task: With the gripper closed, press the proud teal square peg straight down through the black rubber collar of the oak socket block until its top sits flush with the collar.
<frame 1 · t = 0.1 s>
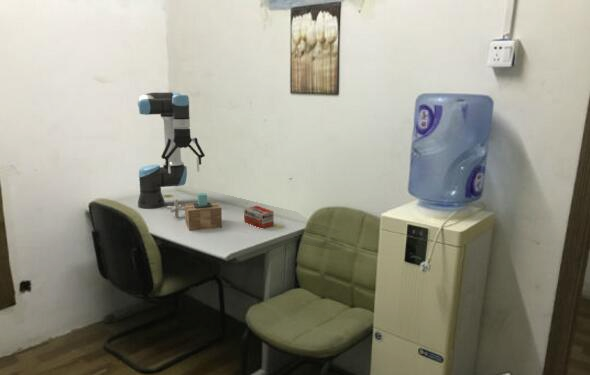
hand: (184, 172, 220), 28 cm above the table, fingers open, 13 cm apart
collar: (202, 205, 228), on the socket block, point 10 cm above the table
medicine box: (259, 224, 232), on the table
pipe connector: (176, 217, 243), on the table
peg: (202, 202, 227), point 12 cm above the table, slide at 0.0 cm
socket block: (203, 224, 230), on the table
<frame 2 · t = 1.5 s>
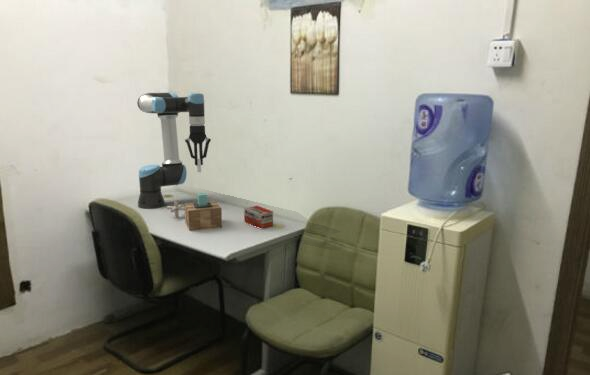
hand: (199, 171, 231), 26 cm above the table, fingers closed
nothing on the table moved.
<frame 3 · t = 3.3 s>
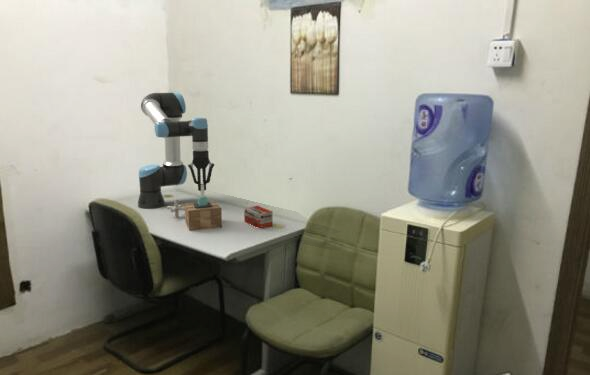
hand: (202, 196, 227), 15 cm above the table, fingers closed
peg: (202, 205, 228), point 10 cm above the table, slide at 1.6 cm, touching gripper
everything else where it was.
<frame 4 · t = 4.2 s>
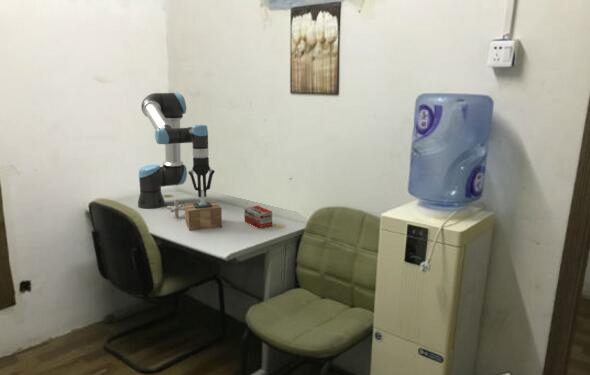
hand: (202, 203, 227), 11 cm above the table, fingers closed
peg: (202, 211, 228), point 7 cm above the table, slide at 4.9 cm, touching gripper
everything else where it was.
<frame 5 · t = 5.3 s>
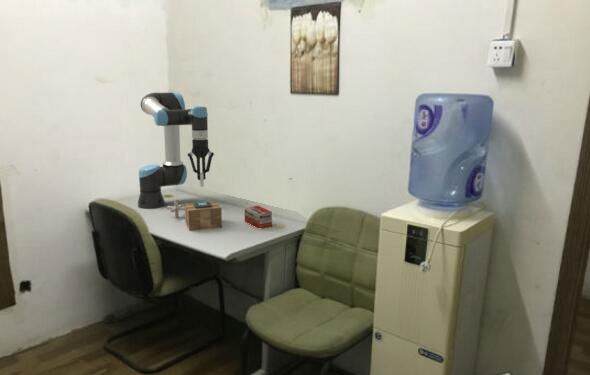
hand: (201, 186, 226), 20 cm above the table, fingers closed
peg: (202, 211, 228), point 7 cm above the table, slide at 4.9 cm
everything else where it was.
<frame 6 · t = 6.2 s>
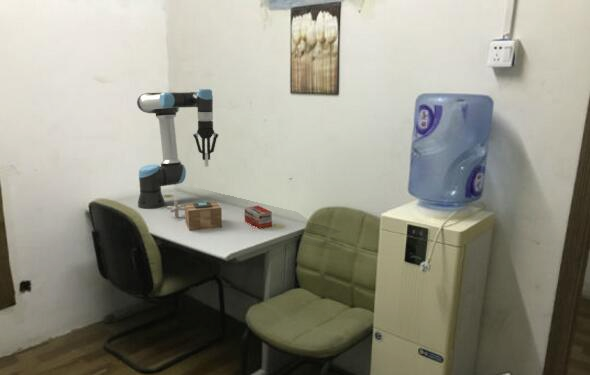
hand: (206, 165, 235), 28 cm above the table, fingers closed
nothing on the table moved.
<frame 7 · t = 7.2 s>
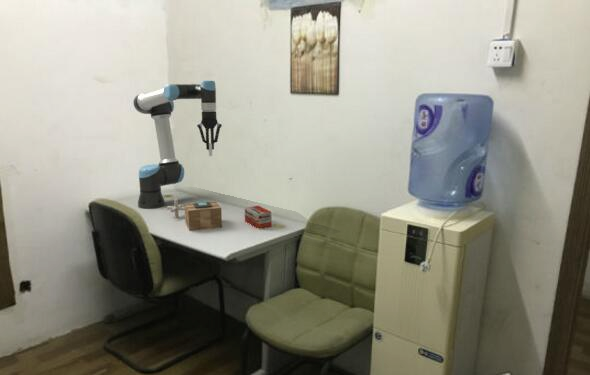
hand: (210, 155, 242), 32 cm above the table, fingers closed
nothing on the table moved.
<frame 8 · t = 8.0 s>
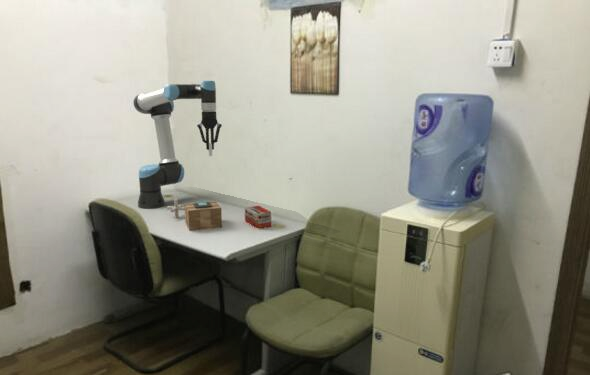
hand: (210, 155, 242), 32 cm above the table, fingers closed
nothing on the table moved.
at the end: peg slide at 4.9 cm; peg touching nothing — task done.
